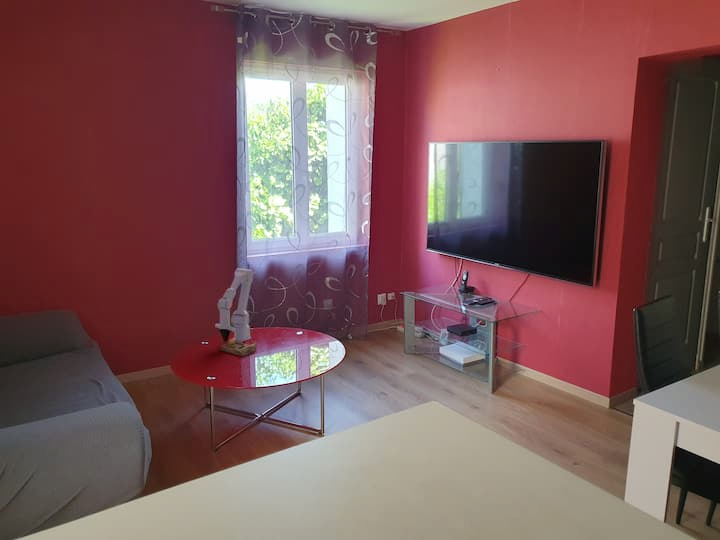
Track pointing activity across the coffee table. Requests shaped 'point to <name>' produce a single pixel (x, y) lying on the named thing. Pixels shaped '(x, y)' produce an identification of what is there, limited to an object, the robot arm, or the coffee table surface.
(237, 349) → the board
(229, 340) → the ball
